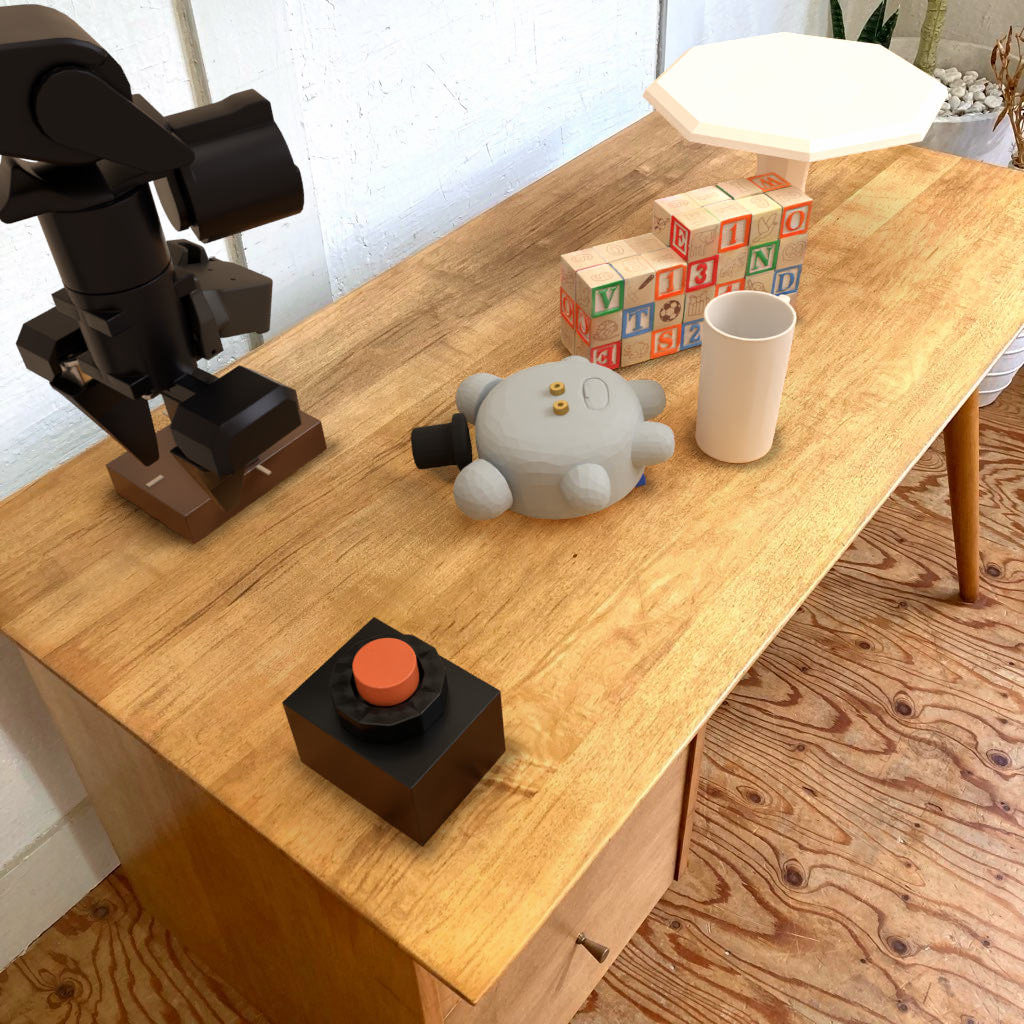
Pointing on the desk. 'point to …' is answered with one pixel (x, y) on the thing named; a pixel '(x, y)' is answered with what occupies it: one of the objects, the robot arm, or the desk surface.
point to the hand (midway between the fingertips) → (190, 484)
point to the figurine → (548, 440)
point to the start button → (386, 672)
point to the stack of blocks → (683, 269)
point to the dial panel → (185, 502)
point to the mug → (742, 373)
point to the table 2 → (796, 99)
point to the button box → (399, 735)
